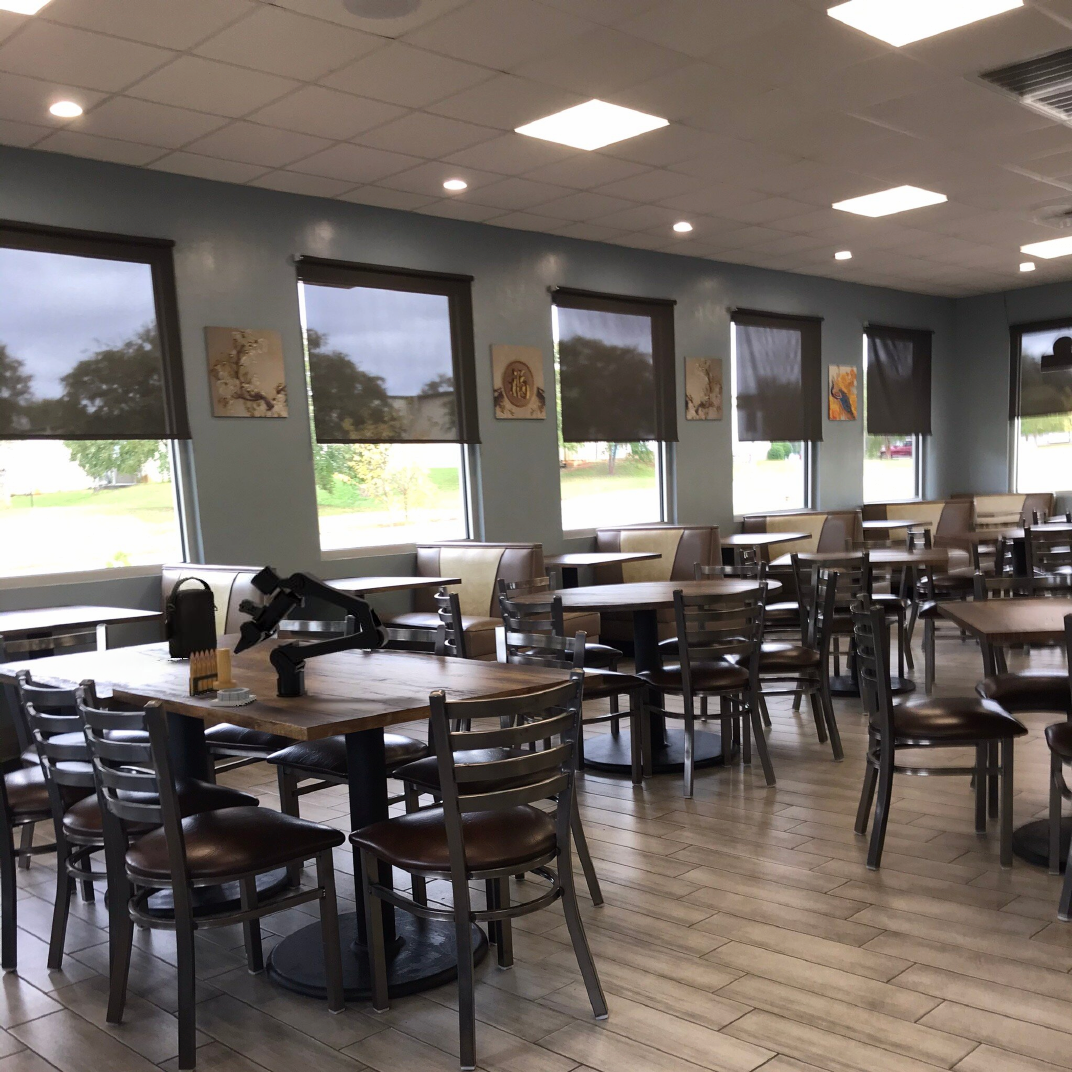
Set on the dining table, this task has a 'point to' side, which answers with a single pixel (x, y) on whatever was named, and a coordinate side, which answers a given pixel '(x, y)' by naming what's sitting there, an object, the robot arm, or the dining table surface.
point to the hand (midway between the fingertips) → (240, 650)
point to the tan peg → (224, 670)
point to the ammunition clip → (202, 673)
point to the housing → (232, 697)
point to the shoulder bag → (190, 620)
